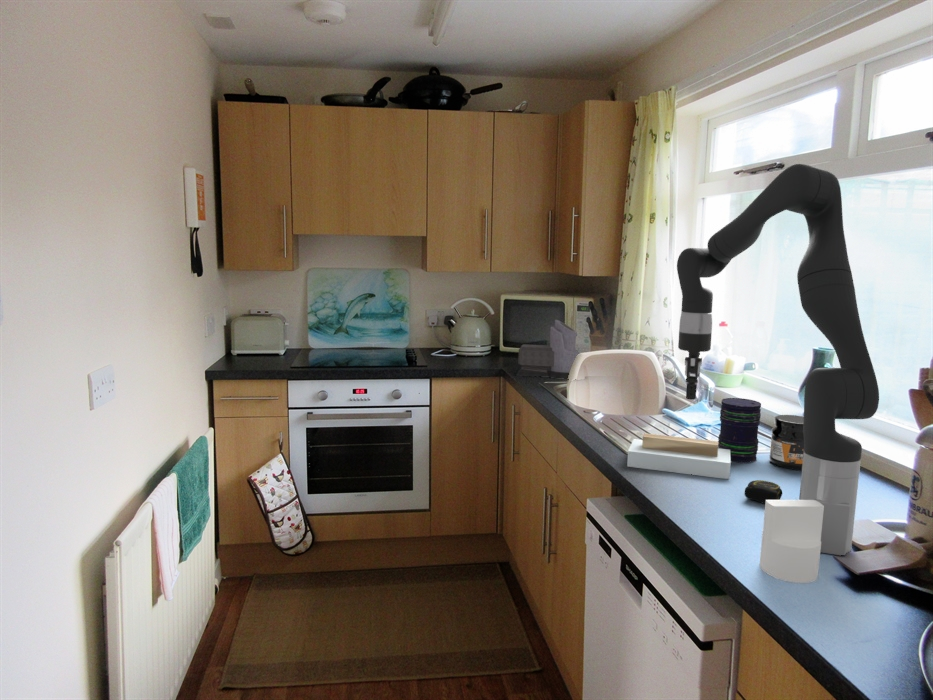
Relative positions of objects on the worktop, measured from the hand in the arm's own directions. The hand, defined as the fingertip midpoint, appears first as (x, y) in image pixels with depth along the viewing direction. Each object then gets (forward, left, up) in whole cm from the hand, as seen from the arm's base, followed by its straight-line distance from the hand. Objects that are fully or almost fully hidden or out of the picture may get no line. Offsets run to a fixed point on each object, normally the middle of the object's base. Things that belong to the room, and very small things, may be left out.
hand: (691, 396), depth 166 cm
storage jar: (+15, -12, -19) cm, 27 cm away
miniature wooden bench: (+1, +2, -18) cm, 18 cm away
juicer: (+109, +61, -19) cm, 127 cm away
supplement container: (+14, -25, -19) cm, 34 cm away
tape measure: (-18, -17, -19) cm, 31 cm away
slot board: (+1, +2, -18) cm, 19 cm away
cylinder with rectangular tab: (-51, -19, -19) cm, 58 cm away
